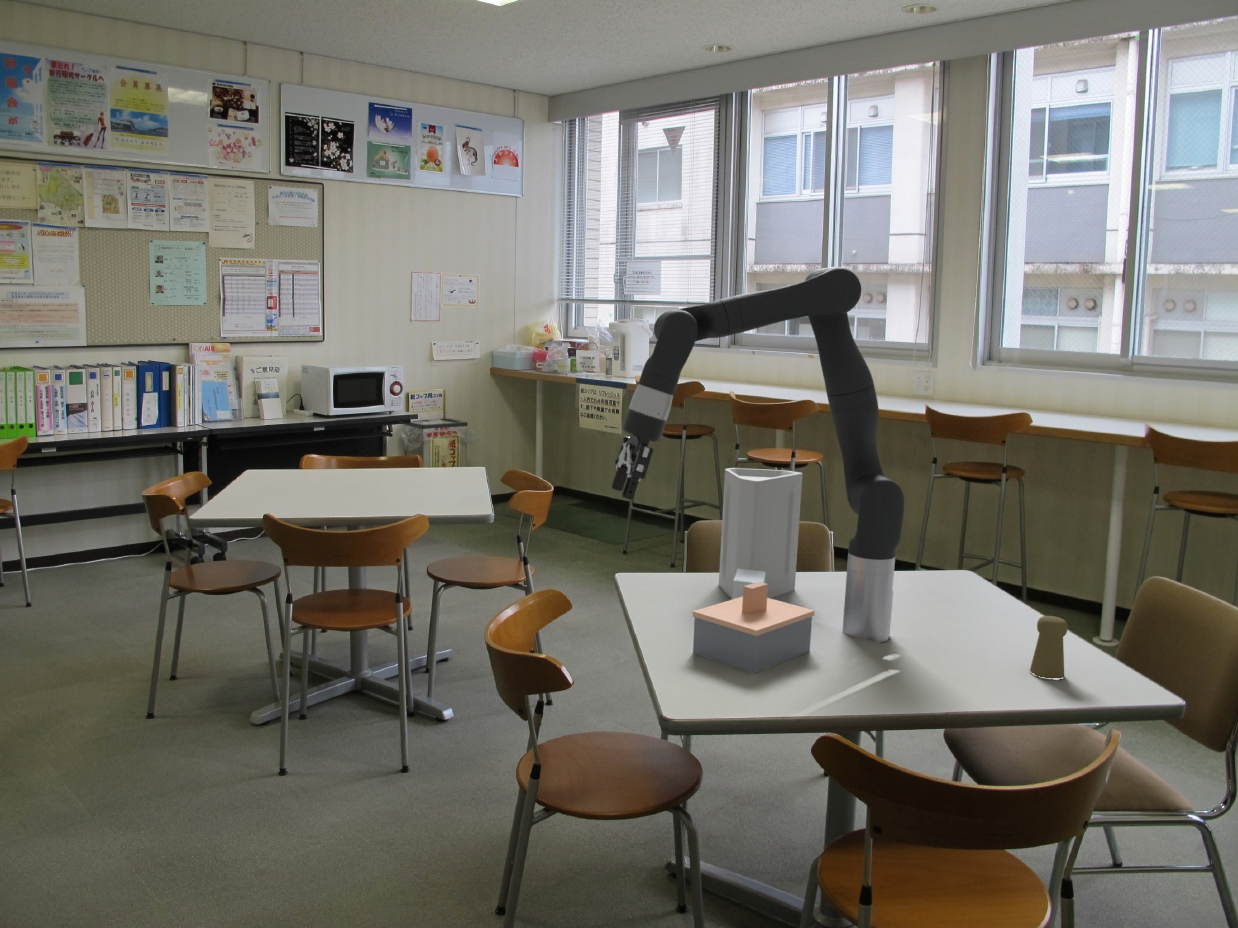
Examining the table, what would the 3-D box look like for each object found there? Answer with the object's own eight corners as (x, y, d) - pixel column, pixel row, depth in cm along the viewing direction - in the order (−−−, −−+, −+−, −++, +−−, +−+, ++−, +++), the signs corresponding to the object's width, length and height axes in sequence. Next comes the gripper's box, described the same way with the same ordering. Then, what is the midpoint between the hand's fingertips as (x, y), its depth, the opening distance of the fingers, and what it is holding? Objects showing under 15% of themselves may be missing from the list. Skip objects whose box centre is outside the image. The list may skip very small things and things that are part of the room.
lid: (751, 604, 200) (753, 569, 199) (813, 621, 190) (816, 584, 189) (692, 622, 187) (694, 585, 185) (755, 642, 177) (758, 603, 176)
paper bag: (744, 576, 247) (751, 464, 243) (796, 589, 237) (803, 473, 233) (697, 590, 233) (703, 472, 228) (749, 605, 223) (757, 481, 219)
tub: (749, 637, 201) (752, 598, 199) (809, 655, 191) (812, 615, 190) (692, 657, 188) (694, 616, 186) (753, 678, 178) (755, 635, 177)
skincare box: (760, 632, 204) (763, 583, 202) (728, 629, 205) (731, 580, 204) (763, 617, 214) (766, 570, 212) (733, 615, 215) (736, 567, 214)
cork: (1061, 683, 182) (1068, 624, 180) (1026, 675, 185) (1032, 618, 183) (1066, 673, 187) (1073, 616, 185) (1032, 666, 190) (1038, 610, 188)
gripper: (676, 423, 183) (648, 506, 184) (656, 414, 196) (630, 492, 198) (639, 411, 181) (611, 495, 182) (621, 403, 194) (595, 481, 196)
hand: (621, 493), depth 190 cm, fingers open, 8 cm apart
